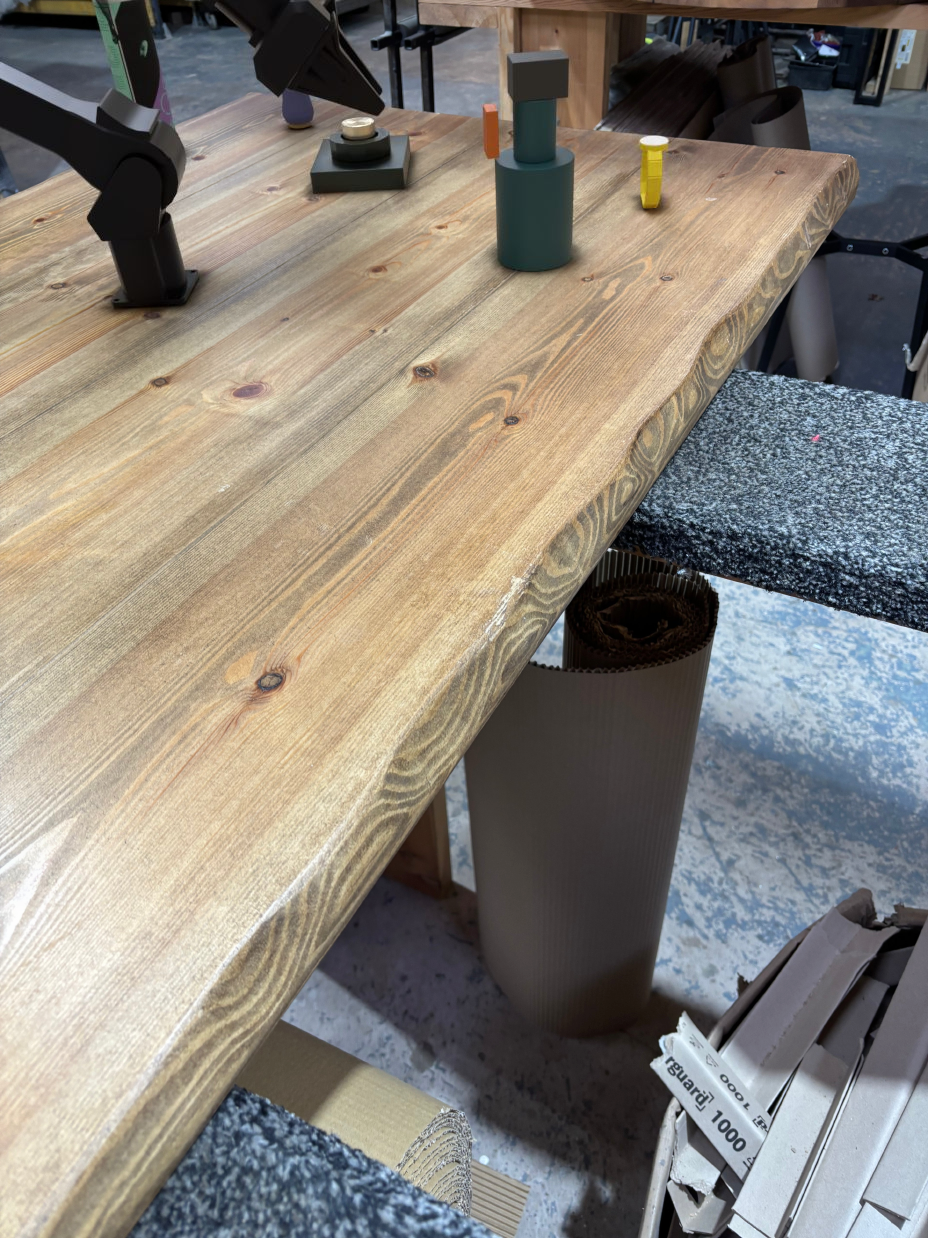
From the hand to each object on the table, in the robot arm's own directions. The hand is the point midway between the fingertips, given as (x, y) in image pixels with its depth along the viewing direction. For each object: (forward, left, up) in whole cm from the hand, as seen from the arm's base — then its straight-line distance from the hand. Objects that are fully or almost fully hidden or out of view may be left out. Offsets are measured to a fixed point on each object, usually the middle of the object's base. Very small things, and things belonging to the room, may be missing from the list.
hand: (380, 102), depth 75 cm
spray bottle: (+1, -12, -14) cm, 19 cm away
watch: (+13, -24, -14) cm, 31 cm away
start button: (+27, +6, -10) cm, 30 cm away
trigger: (+1, -9, -5) cm, 10 cm away
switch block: (+27, +6, -14) cm, 31 cm away
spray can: (+37, +32, -14) cm, 51 cm away
